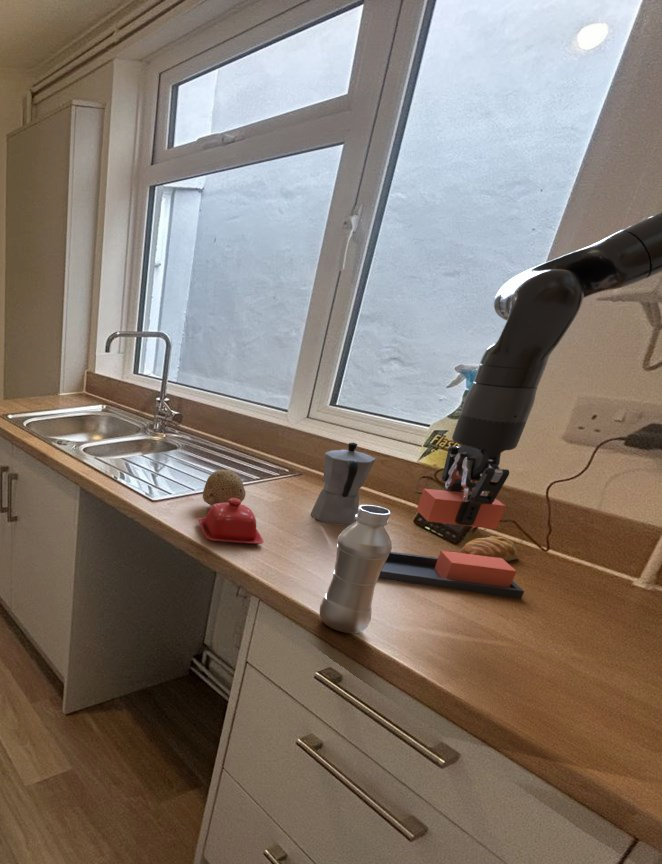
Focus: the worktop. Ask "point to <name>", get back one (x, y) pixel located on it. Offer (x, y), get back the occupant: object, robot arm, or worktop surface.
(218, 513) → the butter dish
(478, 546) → the pastry
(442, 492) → the red toy brick
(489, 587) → the tray
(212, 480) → the natural sponge
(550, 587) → the worktop surface
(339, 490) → the coffeepot
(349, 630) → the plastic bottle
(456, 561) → the red block
